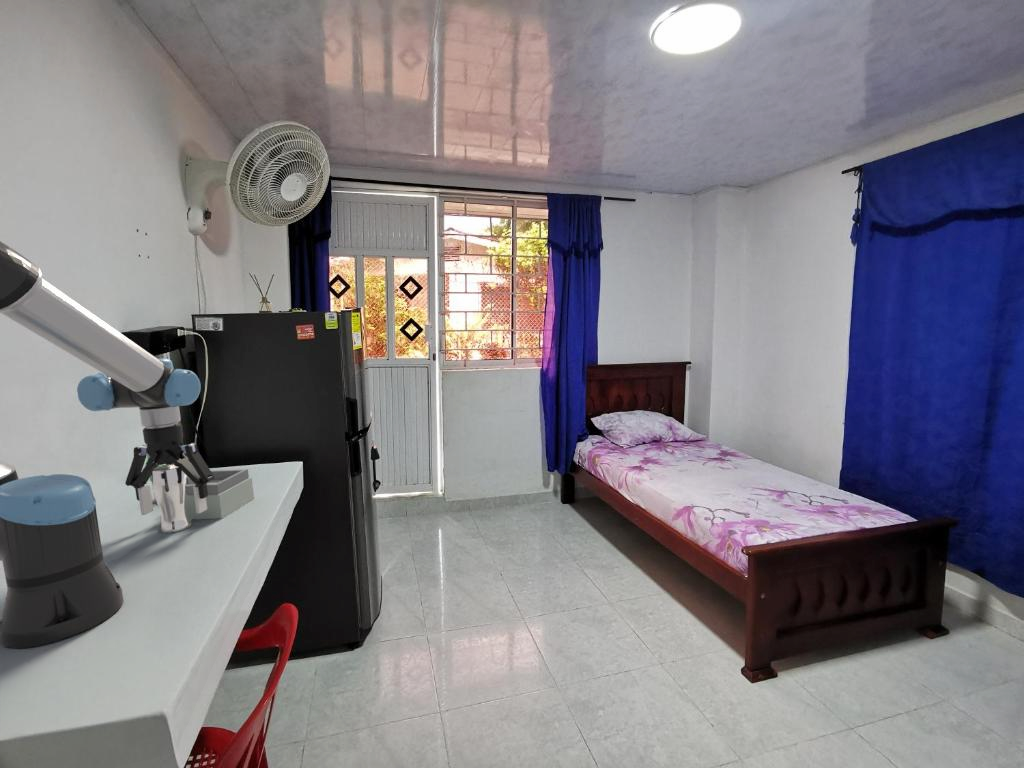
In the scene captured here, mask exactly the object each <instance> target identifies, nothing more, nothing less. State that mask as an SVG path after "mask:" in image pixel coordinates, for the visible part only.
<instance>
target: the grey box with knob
mask: <svg viewBox="0 0 1024 768" xmlns="http://www.w3.org/2000/svg"><path fill="white" fill-rule="evenodd" d="M210 471H211V472H212V474H213V475H214V477H215V478H214V480H212V481H210V482H208V483H207V491H208V496H207V497H206V503H207V510H205V511H203V512H201V513H199V514H197V513H196V505H195V498H194V491H193V487H194V486H195V485H196V484H195V483H194V482H193V481H192V480H191V479H190V478H189V477H188V485H189V493H188V514H189V517H190V520H213V519H215V520H217V519H224V518H225V517H227V516H229V515H230V514H232V513H233V512H235V511H236V510H239V509H240V508H241V507H242V506H243V507H244V505H246V504H249V502H251V501H252V500H254V499H255V493H254V485H253V484H254V483H253V477H250V474H249V469H248V468H247V469H244V468H243V469H222V470H221V469H219V470H217V469H216V470H214V469H213V470H210Z"/></svg>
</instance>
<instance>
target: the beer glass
mask: <svg viewBox="0 0 1024 768" xmlns="http://www.w3.org/2000/svg"><path fill="white" fill-rule="evenodd" d="M151 471H152V475H151V483H152V484H151V486H152V491H153V496H154V499H155V502H156V504H157V507H158V509H159V513H160V517H161V526H160V527H161V528H160V531H161V532H162V533H164V534H165V533H166V534H170V533H175V532H176V533H177V532H180V531H183V530H186V529H188V528H190V527H191V526H192V525H193V524H192V523H193V522H192V519H190V517H189V514H188V493H189V485H188V477H187V475H186V474H185V473H184V472H183V471H182V470H181V469H180V468H179V467H177V466H175V465H174V464H171V465H167V464H163V465H158V466H157V467H155V468H153V469H152V470H151Z"/></svg>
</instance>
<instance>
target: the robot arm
mask: <svg viewBox="0 0 1024 768" xmlns="http://www.w3.org/2000/svg"><path fill="white" fill-rule="evenodd" d="M0 314H2V315H3V316H6V317H7V318H9V319H10V320H12V321H13V322H15V323H17V324H19V325H20V326H22V327H24V328H26V329H28V330H29V331H31V332H33V333H34V334H36V335H37V336H39V337H41V338H42V339H44V340H47V341H48V342H49V343H50V344H53V345H54V346H56V347H58V348H59V349H62V350H63V351H64V352H66V353H68V354H69V355H71V356H73V357H75V358H77V359H78V360H80V361H82V362H83V363H84V364H85V363H86V364H87V365H89V366H90V367H91V368H94V369H95V370H97V371H99V373H97V374H92V375H87V376H85V377H83V378H82V379H81V380H79V383H78V384H77V387H76V392H77V398H78V401H79V402H80V404H81V405H82V406H83V407H84V408H85V409H87V410H88V411H91V412H101V411H110V410H113V409H114V410H115V409H121V408H122V409H123V408H126V409H127V408H129V409H131V408H138V409H139V414H140V415H139V416H140V423H141V426H143V427H144V428H143V429H142V436H143V442H144V444H142V445H139V446H136V447H134V448H133V458H132V461H131V465H130V468H129V470H128V474H127V476H126V480H125V483H124V484H125V486H127V487H129V486H131V487H133V488H134V490H135V496H136V500H137V501H138V502H139V506H140V513H141V514H140V515H141V516H146V515H148V514H150V513H152V512H154V505H153V499H152V493H151V492H152V490H151V485H150V484H148V481H149V480H150V479H151V478H152V471H151V470H152V469H153V468H155V467H158V466H162V465H166V464H167V465H171V464H174V465H175V466H177V467H179V468H180V469H181V470H182V471H183V472H184V473H185V474H186V475H187V476H188V477H189V478H190V479H191V480H192V481H193V482H194V483H195V484H196V485H195V486H194V487H193V491H194V498H195V505H196V513H197V514H199V513H201V512H203V511H205V510H207V503H206V497H207V496H208V491H207V483H208V482H210V481H212V480H214V478H215V477H214V475H213V474H212V472H211V471H212V470H211V469H210V468H209V466H208V464H207V463H206V462H205V460H204V458H203V457H202V455H201V454H200V452H199V448H198V444H197V443H196V442H192V443H190V444H185V445H184V443H183V438H184V432H183V424H181V423H180V421H181V413H180V411H181V410H180V407H182V406H190V405H192V404H194V402H195V401H197V399H198V398H199V395H200V393H201V387H202V386H201V385H202V384H201V381H200V378H198V375H197V374H196V373H195V372H194V371H193V370H190V369H189V370H188V369H182V368H176V369H174V364H173V361H172V360H171V359H169V358H165V357H164V358H157V357H155V356H154V355H153V354H151V353H150V352H148V351H147V350H145V349H144V348H143V347H141V346H140V345H138V344H137V343H136V342H135V341H133V340H132V339H129V338H128V337H127V336H126V335H124V334H122V333H121V332H119V331H118V330H117V329H116V328H114V327H113V326H111V325H109V323H107V322H105V321H104V320H103V319H101V318H100V317H98V316H97V315H96V314H94V313H93V312H91V311H90V310H89V309H87V308H85V307H84V306H82V305H81V304H80V303H78V302H77V301H75V300H74V299H73V298H71V297H70V296H68V295H67V294H66V293H64V292H63V291H62V290H60V289H58V288H57V287H56V286H54V285H53V284H51V283H50V282H49V281H47V280H45V278H43V277H42V271H41V268H40V267H39V266H37V265H36V264H35V263H34V262H32V261H31V260H29V259H28V258H27V257H25V256H23V255H22V254H21V253H20V252H17V251H16V250H15V249H14V248H12V247H10V246H9V245H7V244H6V243H4V242H3V241H1V240H0ZM185 454H186V455H185ZM147 455H148V456H149V458H148V459H147ZM146 459H147V461H146ZM145 461H146V463H145ZM96 503H97V502H96V498H95V496H94V493H93V490H92V486H91V483H90V482H89V481H88V480H86V478H84V477H81V476H79V475H73V474H61V473H58V474H55V473H53V474H50V475H44V474H42V475H33V476H29V477H27V476H26V477H23V478H19V476H18V473H17V471H16V468H15V466H14V465H12V464H8V463H7V462H3V461H1V460H0V562H2V567H3V573H4V577H5V578H4V579H5V582H6V587H7V588H6V589H7V591H6V596H5V602H4V605H3V611H2V617H1V619H0V643H1V645H2V646H4V647H6V646H7V647H6V648H10V647H11V648H12V649H25V648H26V649H27V648H32V647H38V646H43V645H48V644H51V643H55V642H58V641H61V640H64V639H67V638H70V637H72V636H76V635H78V634H80V633H83V632H85V631H88V630H89V629H91V628H93V627H96V626H97V625H99V624H101V623H102V622H105V620H107V619H109V618H111V617H112V616H113V615H114V614H116V613H117V612H118V611H119V609H120V608H121V607H122V606H123V605H124V602H125V600H124V596H123V595H124V593H123V588H122V586H121V585H120V583H118V582H117V581H116V580H117V579H115V577H114V574H113V573H112V572H111V570H110V568H109V567H108V566H107V564H106V563H105V560H104V554H103V548H102V541H101V535H100V527H99V520H98V514H97V508H96Z"/></svg>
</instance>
